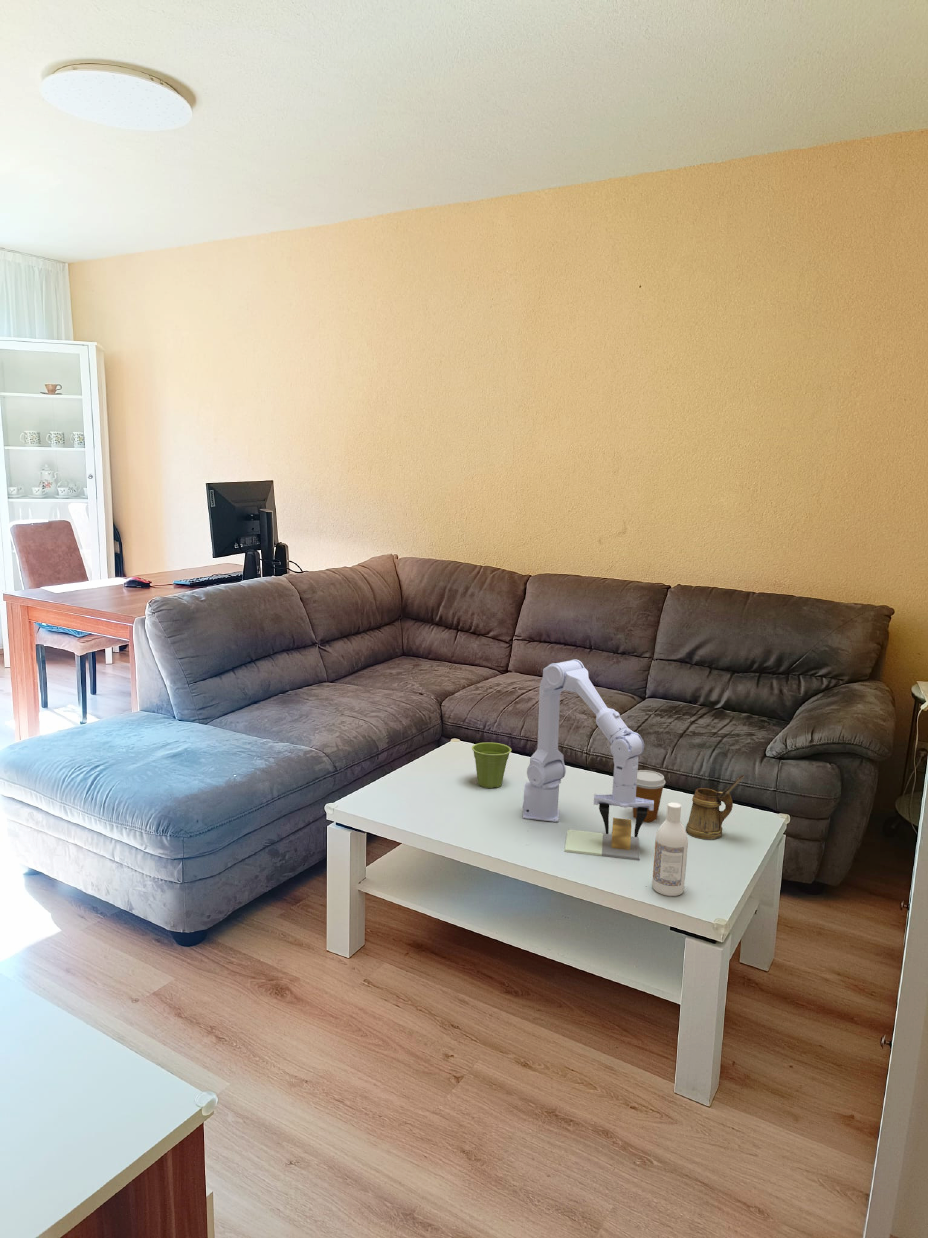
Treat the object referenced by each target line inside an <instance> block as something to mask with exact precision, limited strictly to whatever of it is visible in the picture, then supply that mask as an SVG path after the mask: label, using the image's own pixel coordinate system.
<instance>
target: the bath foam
mask: <svg viewBox="0 0 928 1238" xmlns="http://www.w3.org/2000/svg"><path fill="white" fill-rule="evenodd" d="M681 815H682V804H680V803H679V802H668V803H667V807H666V819H665V820H664V821H663V822H662V824H661V825H660V826H659V827H658V829H657V832H656V834H655V841H654V854H653V855H654V856H653V870H652V881H651V882H652V883H651V885H652V886H651V887H652V888H653V890H654V891H655V892H657V893H658V894H661V895H663V896H667V897H676V896H679V895H682V894H683V893H684V890H685V882H686V872H687V871H686V869H687V858H688V844H689V840H688V833H687V832H686V828H685V827H684V826H683V824H682V821H681Z"/></svg>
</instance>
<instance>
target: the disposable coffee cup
mask: <svg viewBox="0 0 928 1238" xmlns="http://www.w3.org/2000/svg"><path fill="white" fill-rule="evenodd" d="M665 785H666V780H665V776H664V775H663V774H662V773H660V772H658V771H657V772H656V771H655V770H647V769H645V770H644V769H640V770H638V772H637V786H636V797H638V798H643V799H647V800H653V801H654V809H653V811H651V810H649V809H648V810H647V811H648V813H647V816H646V818H645V819H644V821H643V823H651V822H656V821H657V818H658V814H659V810H660V809H659V808H660V803H661V799H662V793H663V790H664V786H665ZM636 813H637V808H632V817H633V818H634V819H635V820H636Z"/></svg>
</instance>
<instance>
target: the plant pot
mask: <svg viewBox="0 0 928 1238" xmlns="http://www.w3.org/2000/svg"><path fill="white" fill-rule="evenodd" d="M471 750H472V752H473V757H474V759H475V760H474V761H475V768H476V778H477V785H479V786H480V787H481V788H488V789H492V788H500V787H501V786H502V784H503V782H504V781H503V780H504V776H505V772H506V767H507V762H508V760H509V756H510V753H511V752H512V748H511V747H510V746H509V745H507V744H503V743H498V742H492V741H491V742H490V741H489V742H479V743H475V744H473V745H472V746H471Z"/></svg>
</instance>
